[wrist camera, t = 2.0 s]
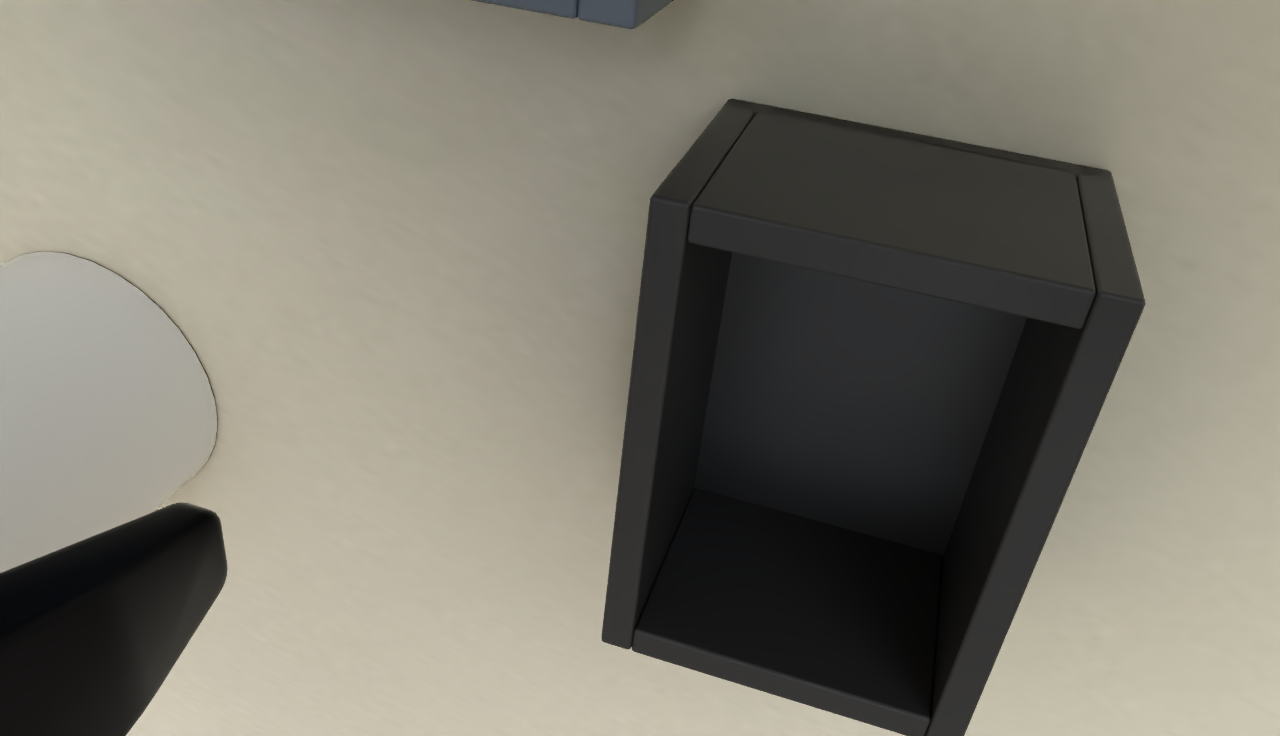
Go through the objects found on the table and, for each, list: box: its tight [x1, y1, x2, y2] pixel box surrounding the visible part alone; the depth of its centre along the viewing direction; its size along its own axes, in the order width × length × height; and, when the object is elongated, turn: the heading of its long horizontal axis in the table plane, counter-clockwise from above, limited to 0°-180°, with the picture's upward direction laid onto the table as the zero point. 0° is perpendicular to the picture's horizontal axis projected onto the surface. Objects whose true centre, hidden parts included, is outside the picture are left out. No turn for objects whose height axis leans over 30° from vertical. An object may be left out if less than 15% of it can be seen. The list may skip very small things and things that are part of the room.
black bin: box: [602, 99, 1145, 736], centre depth 18 cm, size 7×9×5 cm
